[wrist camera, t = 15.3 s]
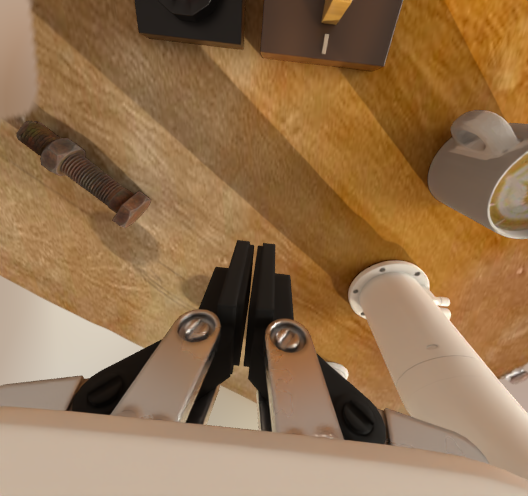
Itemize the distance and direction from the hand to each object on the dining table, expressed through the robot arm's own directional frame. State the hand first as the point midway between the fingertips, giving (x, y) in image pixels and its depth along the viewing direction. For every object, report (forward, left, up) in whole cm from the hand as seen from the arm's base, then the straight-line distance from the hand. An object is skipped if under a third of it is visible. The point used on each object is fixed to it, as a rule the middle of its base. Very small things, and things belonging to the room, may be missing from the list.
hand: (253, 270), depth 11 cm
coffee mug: (-24, -4, -23) cm, 34 cm away
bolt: (+23, +3, -23) cm, 33 cm away
